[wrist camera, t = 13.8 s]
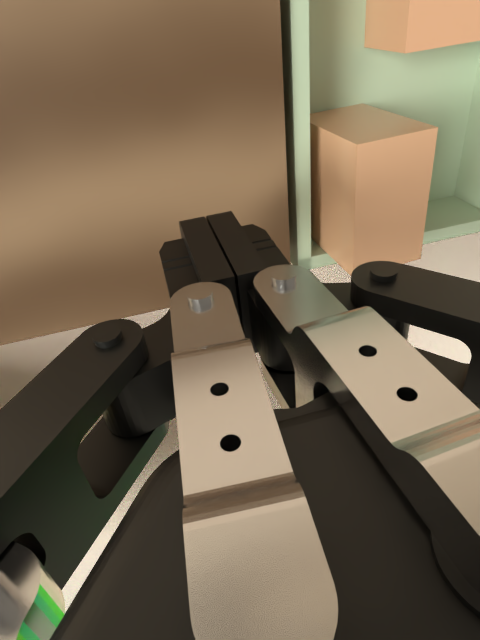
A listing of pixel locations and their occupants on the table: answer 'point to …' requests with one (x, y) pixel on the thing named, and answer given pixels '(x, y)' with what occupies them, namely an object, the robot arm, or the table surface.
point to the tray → (384, 93)
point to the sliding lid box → (129, 147)
